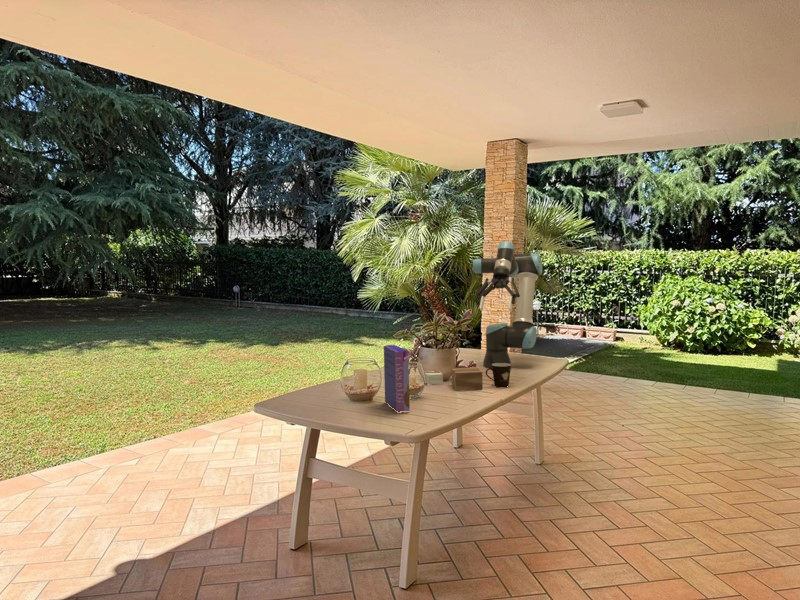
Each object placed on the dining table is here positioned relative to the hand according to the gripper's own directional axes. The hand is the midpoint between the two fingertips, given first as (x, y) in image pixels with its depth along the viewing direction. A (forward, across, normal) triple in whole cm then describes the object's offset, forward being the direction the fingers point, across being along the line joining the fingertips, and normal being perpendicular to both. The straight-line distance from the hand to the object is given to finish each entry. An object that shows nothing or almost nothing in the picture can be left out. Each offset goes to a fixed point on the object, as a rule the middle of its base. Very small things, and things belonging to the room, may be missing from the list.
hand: (495, 309), depth 254 cm
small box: (+31, -30, +16) cm, 47 cm away
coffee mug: (+29, 0, +20) cm, 35 cm away
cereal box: (+58, -25, -23) cm, 67 cm away
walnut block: (+33, -12, +14) cm, 38 cm away
